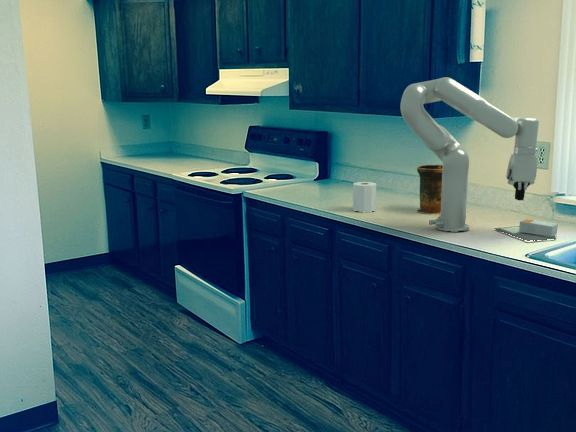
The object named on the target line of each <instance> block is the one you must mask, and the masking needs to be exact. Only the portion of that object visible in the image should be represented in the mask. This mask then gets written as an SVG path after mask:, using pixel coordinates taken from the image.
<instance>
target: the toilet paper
mask: <svg viewBox="0 0 576 432" xmlns="http://www.w3.org/2000/svg"><path fill="white" fill-rule="evenodd" d="M352 186H353V187H352V189H353V190H352V191H353V192H352V195H353V196H352V211H353V210H355V211H360V212H359V213H361V212H370V213H373V212H372V211H375V212H376V211H377V182H374V181H373V182H372V181H357V182H353V184H352ZM355 211H354V212H355Z"/></svg>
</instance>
